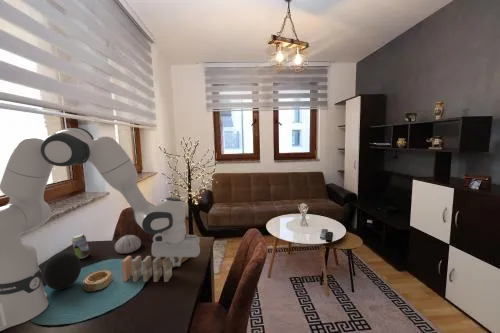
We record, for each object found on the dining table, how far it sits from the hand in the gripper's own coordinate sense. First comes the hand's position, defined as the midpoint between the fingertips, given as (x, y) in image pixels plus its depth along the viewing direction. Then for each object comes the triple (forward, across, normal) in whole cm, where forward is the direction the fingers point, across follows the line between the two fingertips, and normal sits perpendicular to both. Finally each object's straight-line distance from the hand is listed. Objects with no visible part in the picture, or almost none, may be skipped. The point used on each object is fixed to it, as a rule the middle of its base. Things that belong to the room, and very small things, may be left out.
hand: (176, 265), depth 105 cm
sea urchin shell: (+6, +37, -28) cm, 47 cm away
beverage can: (+6, +57, -19) cm, 61 cm away
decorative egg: (+6, +45, +7) cm, 46 cm away
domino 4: (+6, +9, 0) cm, 10 cm away
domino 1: (+6, +22, 0) cm, 23 cm away
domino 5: (+6, +4, 0) cm, 7 cm away
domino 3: (+6, +13, 0) cm, 14 cm away
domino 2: (+6, +18, 0) cm, 19 cm away
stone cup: (+6, +5, -14) cm, 16 cm away
